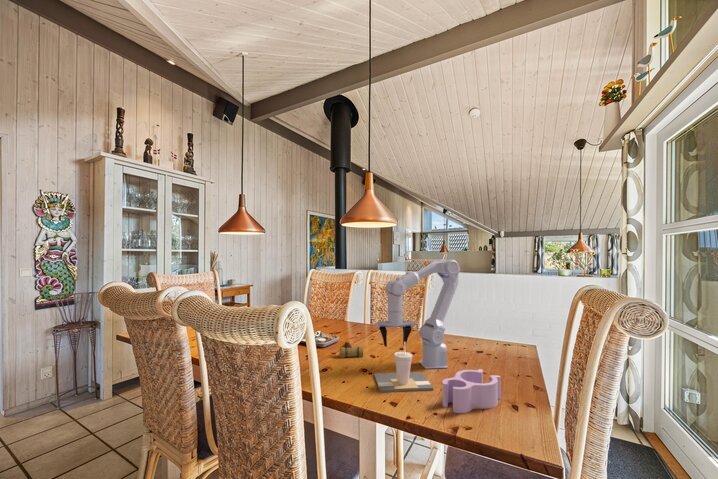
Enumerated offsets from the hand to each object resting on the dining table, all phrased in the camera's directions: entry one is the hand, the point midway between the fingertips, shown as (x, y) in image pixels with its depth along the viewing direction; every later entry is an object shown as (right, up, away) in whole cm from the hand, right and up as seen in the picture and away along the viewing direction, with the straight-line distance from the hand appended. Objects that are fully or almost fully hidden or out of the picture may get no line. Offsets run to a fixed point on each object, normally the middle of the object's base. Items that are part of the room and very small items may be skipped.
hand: (395, 345), depth 124 cm
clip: (+21, -9, -26) cm, 34 cm away
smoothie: (+1, -8, -15) cm, 17 cm away
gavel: (-19, -11, +24) cm, 32 cm away
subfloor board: (+1, -9, -12) cm, 15 cm away
